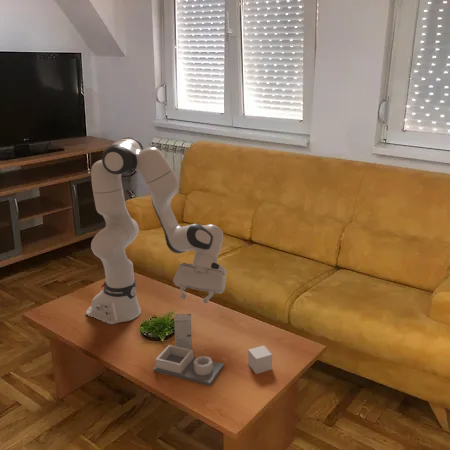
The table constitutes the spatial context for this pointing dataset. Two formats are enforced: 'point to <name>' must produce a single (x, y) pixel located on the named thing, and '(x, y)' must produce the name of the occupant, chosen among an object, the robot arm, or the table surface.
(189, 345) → the skincare box
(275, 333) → the table surface
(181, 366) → the socket holder
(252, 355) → the light grey cube
